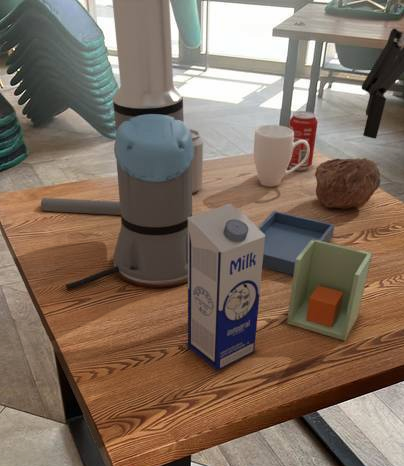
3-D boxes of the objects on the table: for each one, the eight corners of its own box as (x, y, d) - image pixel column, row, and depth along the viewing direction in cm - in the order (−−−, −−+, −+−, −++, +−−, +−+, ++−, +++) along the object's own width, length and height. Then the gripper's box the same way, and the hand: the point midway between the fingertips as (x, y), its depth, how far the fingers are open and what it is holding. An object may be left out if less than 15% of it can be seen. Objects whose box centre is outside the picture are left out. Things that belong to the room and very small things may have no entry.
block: (314, 307, 89) (318, 285, 86) (339, 314, 87) (343, 291, 85) (305, 320, 86) (309, 297, 83) (331, 327, 84) (335, 305, 82)
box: (302, 301, 91) (312, 238, 84) (357, 316, 88) (372, 253, 81) (286, 323, 86) (295, 259, 79) (344, 340, 83) (359, 275, 76)
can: (186, 179, 129) (186, 124, 122) (209, 189, 125) (210, 133, 118) (161, 187, 125) (159, 131, 118) (183, 198, 121) (183, 141, 114)
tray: (301, 277, 97) (303, 264, 95) (236, 260, 101) (237, 247, 100) (332, 236, 109) (334, 224, 107) (272, 222, 113) (274, 210, 111)
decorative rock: (376, 198, 123) (386, 151, 117) (372, 220, 115) (383, 171, 108) (315, 190, 126) (322, 144, 120) (307, 210, 118) (314, 162, 111)
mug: (249, 188, 126) (252, 135, 119) (253, 174, 132) (257, 123, 125) (303, 193, 124) (311, 140, 117) (305, 179, 131) (312, 127, 123)
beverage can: (310, 162, 139) (317, 110, 131) (311, 172, 134) (319, 119, 126) (284, 161, 139) (290, 109, 131) (284, 171, 134) (290, 117, 127)
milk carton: (224, 329, 85) (231, 201, 72) (255, 351, 81) (267, 220, 68) (186, 347, 81) (186, 216, 69) (216, 371, 77) (222, 236, 65)
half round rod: (136, 216, 114) (135, 208, 113) (40, 211, 115) (38, 202, 114) (139, 207, 117) (139, 199, 116) (46, 202, 118) (45, 194, 117)
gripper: (535, -9, 80) (485, 150, 87) (389, 7, 98) (357, 138, 105) (510, -28, 75) (460, 142, 82) (361, -7, 94) (330, 131, 100)
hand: (402, 140), depth 94 cm, fingers open, 13 cm apart
